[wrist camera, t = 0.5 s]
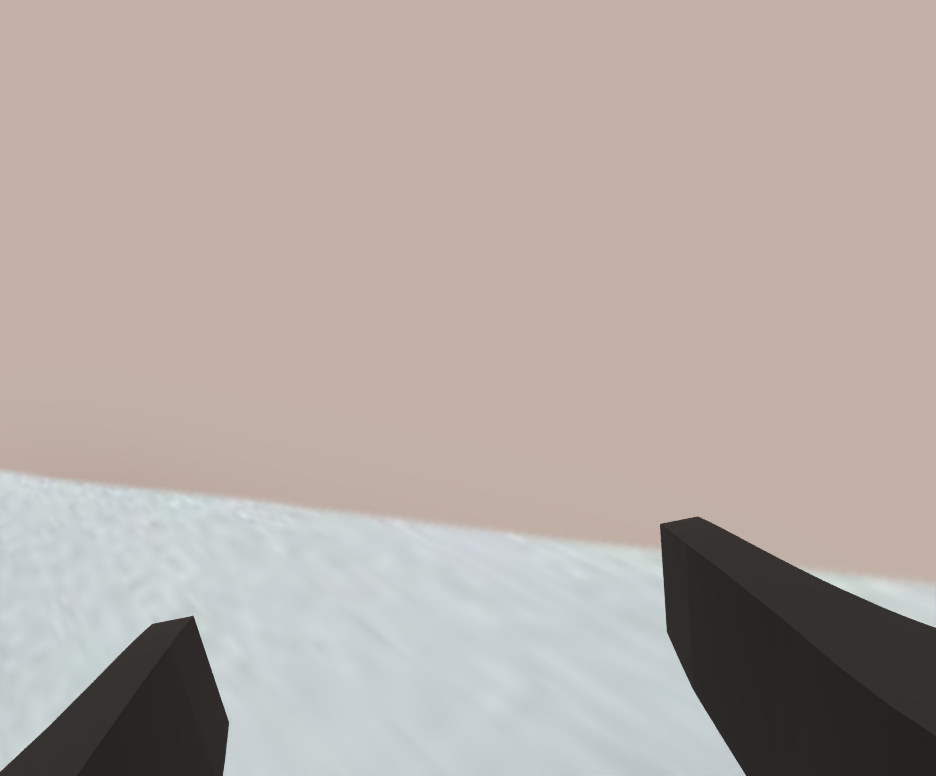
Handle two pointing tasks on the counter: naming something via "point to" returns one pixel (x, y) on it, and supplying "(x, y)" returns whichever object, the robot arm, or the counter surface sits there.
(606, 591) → the counter surface
